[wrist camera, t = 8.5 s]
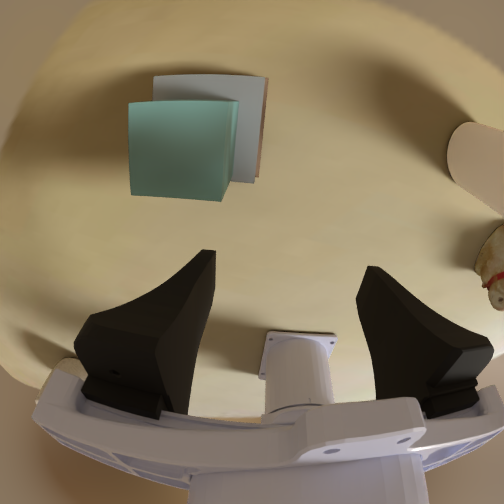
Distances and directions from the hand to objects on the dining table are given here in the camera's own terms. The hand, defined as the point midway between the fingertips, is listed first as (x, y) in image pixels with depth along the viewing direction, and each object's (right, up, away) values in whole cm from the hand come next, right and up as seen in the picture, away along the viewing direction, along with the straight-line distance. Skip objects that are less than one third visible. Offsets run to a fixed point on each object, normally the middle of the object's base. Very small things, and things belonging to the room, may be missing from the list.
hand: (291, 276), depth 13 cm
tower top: (-4, +10, +4) cm, 11 cm away
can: (+18, +10, +5) cm, 21 cm away
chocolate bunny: (+26, +1, +10) cm, 28 cm away
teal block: (-5, +8, +2) cm, 10 cm away
